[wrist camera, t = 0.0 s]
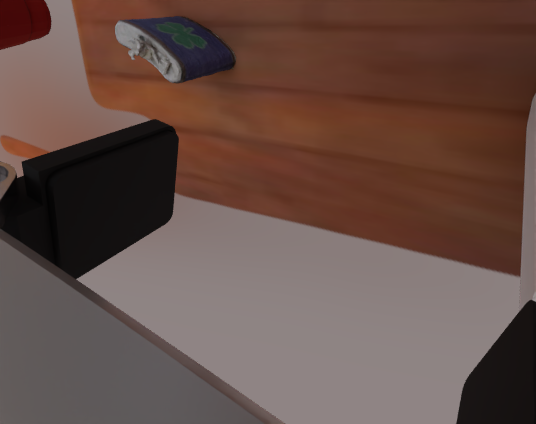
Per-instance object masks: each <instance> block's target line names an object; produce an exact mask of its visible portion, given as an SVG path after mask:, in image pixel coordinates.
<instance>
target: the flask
mask: <svg viewBox="0 0 536 424" xmlns="http://www.w3.org/2000/svg"><path fill="white" fill-rule="evenodd" d="M115 34H116V37H117V40H118V41H119V42H120V43H121V44H122V45H123V46H125V47H127V48H129V49H132V50H131V51H129V55H130V56H131V58H132V60H134V59H135V58H134V55H135V54H136V55H137V56H138V55H140V56H141V57H142V58H144V59H146V60H148V61H149V62H150V63H152V64H153V65H154V66H155V67H156V68H157V69H158V70H159V71H160V73H162V75H163V76H164V78H166V79H167V80H168V81H170V82H172V83H182V82H185V81H188V80H193V79H196V78H198V77H202V76H207V75H211V74H214V73H217V72H220V71H225V70H230V69H233V67H234V65H235V62H236V56H235V55H234V52H233V51H232V50H231V48H230V47H229V46H228V45H227V44H226V43H225V42H224V41H223V40H222V39H221V38H219V37H218V36H217V35H216V34H215V33H213V32H211V31H210V30H208V29H206V28H204V27H203V26H201V25H199V24H198V23H196V22H194V21H192V20H189V19H188V18H185V17H180V16H175V17H164V18H151V19H132V20H120V21H118V22H117V24H116V26H115Z"/></svg>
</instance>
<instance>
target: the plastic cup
mask: <svg viewBox="0 0 536 424" xmlns="http://www.w3.org/2000/svg"><path fill="white" fill-rule="evenodd" d="M50 29H51V16H50V11H49V9H48V7H47V4H46V2H45V1H44V0H0V50H1V49H5V48H8V47H12V46H16V45H20V44H23V43H25V42H28V41H31V40H35V39H39V38H41V37H43V36H45V35H47V34H49V31H50Z"/></svg>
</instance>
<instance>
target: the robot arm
mask: <svg viewBox="0 0 536 424" xmlns="http://www.w3.org/2000/svg"><path fill="white" fill-rule="evenodd" d="M178 143H179V138H178V136H177V134H176V131H175V129H174V128H173V127H172V126H170V125H168V124H165V123H163V122H161V121H159V120H156V119H154V120H150V121H147V122H144V123H141V124H137V125H135V126H131V127H128V128H125V129H122V130H119V131H116V132H113V133H110V134H106V135H103V136H100V137H97V138H94V139H91V140H88V141H85V142H81V143H79V144H75V145H72V146H69V147H66V148H63V149H60V150H57V151H53V152H50V153H47V154H44V155H41V156H38V157H35V158H32V159H29V160H25V161H23V162H22V167H23V173H24V176H22V177H19V178H17V174H16V171H15V169H14V168H13V167H12V166H11V165H9V164H7V163H4V162H1V161H0V424H285V423H283V422H282V421H281V420H279V419H278V418H276V417H275V416H273V415H272V414H270V413H269V412H268V411H266V410H264V409H263V408H262V407H260V406H259V405H257V404H256V403H255V402H253V401H252V400H250V399H249V398H247V397H246V396H244V395H243V394H242V393H240V392H239V391H237V390H236V389H234V388H233V387H232V386H230V385H229V384H227V383H226V382H224V381H223V380H221V379H220V378H219V377H217V376H216V375H214V374H213V373H211V372H210V371H209V370H207V369H205V368H204V367H203V366H201V365H200V364H198V363H197V362H196V361H194V360H192V359H191V358H190V357H188V356H187V355H185V354H184V353H182V352H181V351H180V350H178V349H177V348H175V347H174V346H172V345H171V344H169V343H168V342H166V341H165V340H164V339H162V338H161V337H159V336H158V335H156V334H155V333H153V332H152V331H151V330H149V329H148V328H146V327H145V326H143V325H142V324H140V323H139V322H137V321H136V320H134V319H133V318H131V317H130V316H129V315H127V314H126V313H124V312H123V311H121V310H120V309H118V308H116V306H114V305H112V304H111V303H109V302H108V301H107V300H105V299H104V298H102V297H101V296H99V295H98V294H97V293H95V292H94V291H92V290H91V289H89V288H88V287H86V286H85V285H83V284H82V283H80V282H79V281H77V280H76V279H77V278H79V277H81V276H82V275H84V274H85V273H87V272H89V271H90V270H92V269H93V268H95V267H97V266H98V265H100V264H102V263H103V262H105V261H106V260H108V259H110V258H111V257H113V256H114V255H116V254H117V253H119V252H121V251H123V250H124V249H126V248H127V247H129V246H131V245H132V244H134V243H136V242H137V241H139V240H140V239H142V238H144V237H145V236H147V235H149V234H150V233H152V232H153V231H155V230H156V229H158V228H160V227H161V226H163V225H165V224H166V223H167V222H168V221H169V220H170V219H171V217H172V214H173V204H174V193H175V180H176V168H177V155H178ZM456 424H536V302H535V301H533V300H529V301H528V302H527V303H526V304H525V305H524V306H523V308H522V309H521V310H520V311H519V313H518V314H517V315H516V317H515V318H514V319H513V320H512V322H511V323H510V324H509V326H508V327H507V328H506V329H505V330H504V332H503V333H502V334H501V336H500V337H499V338H498V340H497V341H496V342H495V343H494V344H493V346H492V347H491V349H489V351H488V352H487V353H486V355H485V356H484V357H483V358H482V360H481V361H480V362H479V363H478V365H477V366H476V367H475V369H474V370H473V371H472V372H471V374H470V375H469V377H468V378H467V380H466V382H465V384H464V387H463V391H462V395H461V401H460V407H459V412H458V418H457V423H456Z"/></svg>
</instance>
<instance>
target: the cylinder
mask: <svg viewBox="0 0 536 424" xmlns="http://www.w3.org/2000/svg"><path fill="white" fill-rule="evenodd" d="M529 300H533V301H535V302H536V94H535V96H534V97H533V99H532V104H531V109H530V113H529V118H528V123H527V129H526V154H525V179H524V204H523V229H522V254H521V280H520V305H519V311H520V310H521V309H522V308H523V306H524V305H525V304H526V303H527V302H528V301H529Z"/></svg>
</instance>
